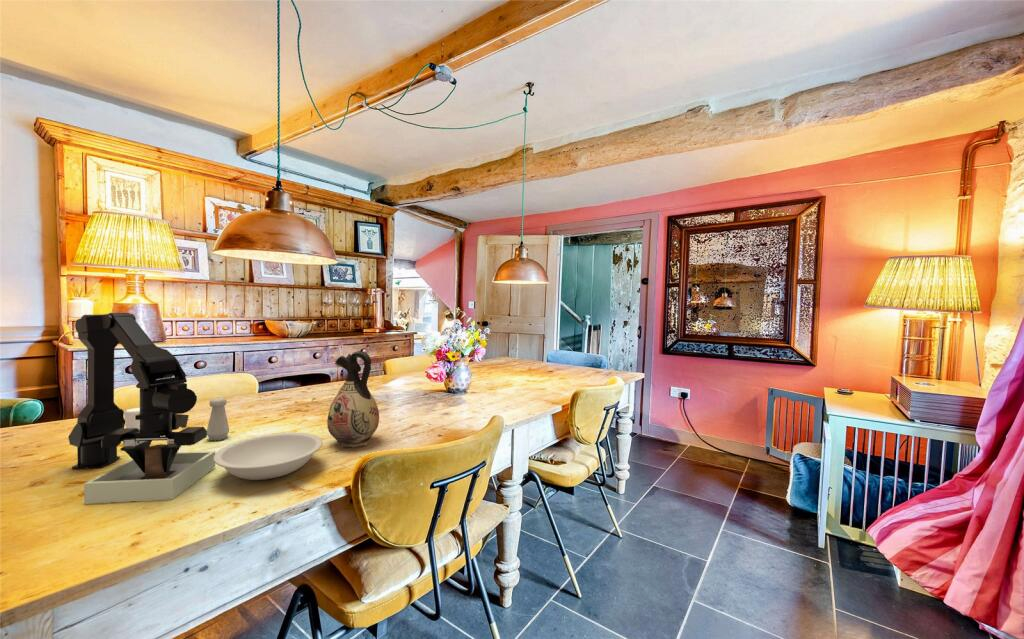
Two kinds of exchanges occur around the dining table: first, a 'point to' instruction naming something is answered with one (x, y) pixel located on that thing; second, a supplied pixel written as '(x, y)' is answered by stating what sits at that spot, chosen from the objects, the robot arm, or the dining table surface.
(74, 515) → the dining table surface
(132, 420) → the white cube
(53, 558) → the dining table surface
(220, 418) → the salt shaker
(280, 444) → the soup bowl
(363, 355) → the ceramic jug
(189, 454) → the tray
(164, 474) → the peg
